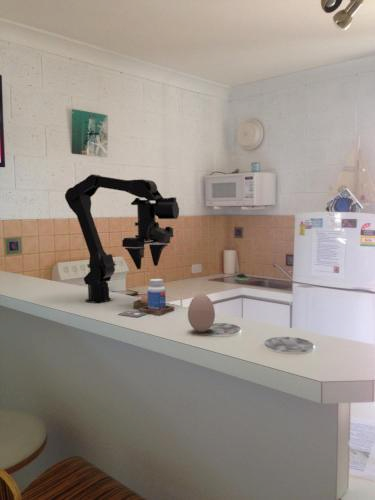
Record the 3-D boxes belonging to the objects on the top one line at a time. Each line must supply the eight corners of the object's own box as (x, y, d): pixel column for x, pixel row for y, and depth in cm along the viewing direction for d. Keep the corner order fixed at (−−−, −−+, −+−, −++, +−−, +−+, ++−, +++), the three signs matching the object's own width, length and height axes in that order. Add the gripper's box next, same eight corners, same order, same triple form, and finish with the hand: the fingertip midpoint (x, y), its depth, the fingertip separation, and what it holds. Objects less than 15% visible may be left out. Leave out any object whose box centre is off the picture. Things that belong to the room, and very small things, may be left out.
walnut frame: (133, 308, 144) (133, 301, 144) (144, 305, 149) (144, 298, 149) (148, 310, 141) (148, 303, 141) (159, 306, 146) (159, 299, 146)
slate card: (118, 315, 136) (118, 313, 136) (128, 311, 140) (128, 310, 140) (137, 317, 132) (137, 316, 132) (147, 314, 137) (147, 312, 137)
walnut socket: (138, 312, 138) (138, 308, 138) (153, 307, 145) (153, 304, 145) (159, 315, 134) (159, 311, 134) (174, 310, 141) (174, 306, 141)
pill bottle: (163, 314, 137) (162, 281, 136) (145, 313, 138) (145, 280, 137) (167, 309, 142) (167, 278, 141) (150, 309, 143) (150, 278, 142)
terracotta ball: (137, 308, 145) (137, 295, 144) (145, 305, 148) (145, 293, 148) (147, 309, 143) (147, 296, 142) (155, 307, 146) (155, 294, 146)
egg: (215, 335, 113) (215, 296, 112) (187, 335, 113) (187, 296, 113) (214, 328, 120) (214, 291, 119) (188, 328, 120) (187, 291, 119)
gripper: (149, 220, 137) (150, 272, 138) (183, 218, 152) (183, 265, 154) (120, 220, 142) (121, 270, 144) (155, 218, 158) (156, 263, 160)
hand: (147, 267), depth 150 cm, fingers open, 9 cm apart
